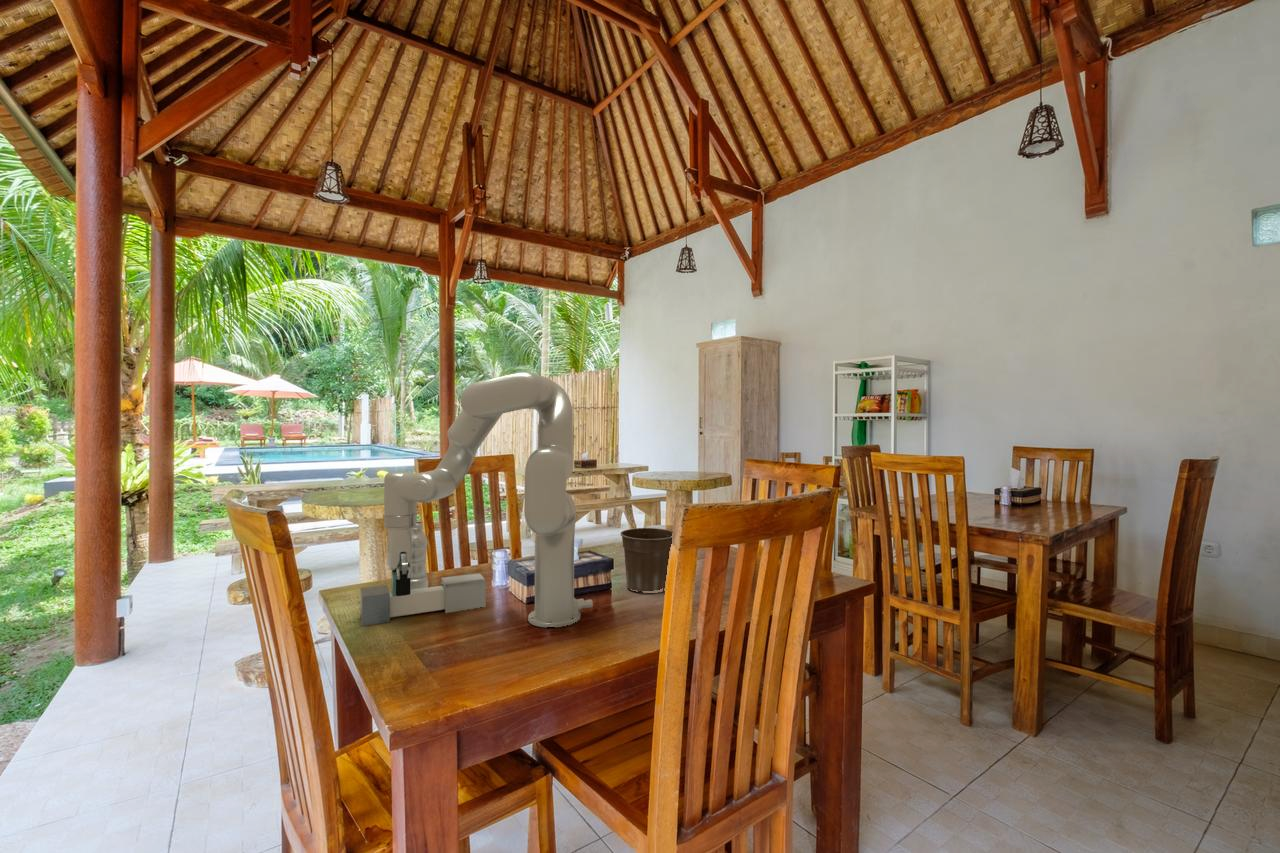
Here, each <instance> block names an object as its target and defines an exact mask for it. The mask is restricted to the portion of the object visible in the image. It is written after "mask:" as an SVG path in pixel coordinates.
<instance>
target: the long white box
mask: <svg viewBox="0 0 1280 853" xmlns="http://www.w3.org/2000/svg"><path fill="white" fill-rule="evenodd" d="M409 573H410V572H409ZM390 576H391V591H389V592H390V618H395V617H403V616H409V615H415V614H421V613H428V612H435V611H436V612H437V611H442V610H445V587H444V586H441V585H438V586H437V585H436V586H431V587H429V586H428V588H420V589H413V590H411V574H410V594H409V595H404V596H396V579H397V572H392V571H391V575H390Z"/></svg>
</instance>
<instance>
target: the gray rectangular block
mask: <svg viewBox="0 0 1280 853" xmlns="http://www.w3.org/2000/svg"><path fill="white" fill-rule="evenodd" d="M440 586H444V587H445V609H444V613H445V614H449V613H454V612H456V613H457V612H462V610H463V611H469V610H473V609H475V608H476V609H481V608H480V607H483V608H486V606H487V605H486V604H487V600H486V599H487V595H486V594H487V592H486V591H487V588H486V587H487V579H486V578H485V577H484V576H483V574H481V573H480V572H478V573H471V574H468V573H467V574H461V575H453V576H446V577H445V576H443V577H440ZM468 609H469V610H468ZM476 609H475V610H476Z"/></svg>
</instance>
